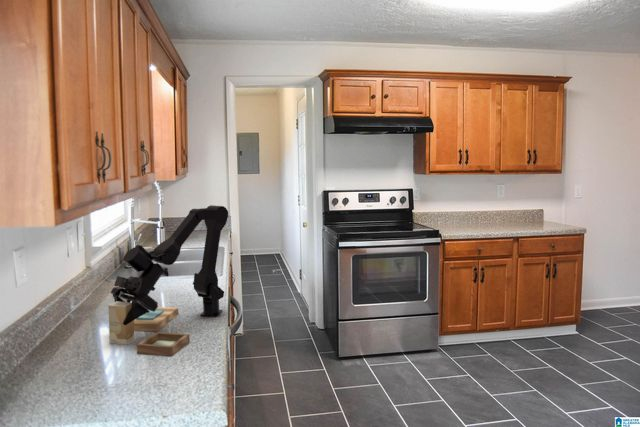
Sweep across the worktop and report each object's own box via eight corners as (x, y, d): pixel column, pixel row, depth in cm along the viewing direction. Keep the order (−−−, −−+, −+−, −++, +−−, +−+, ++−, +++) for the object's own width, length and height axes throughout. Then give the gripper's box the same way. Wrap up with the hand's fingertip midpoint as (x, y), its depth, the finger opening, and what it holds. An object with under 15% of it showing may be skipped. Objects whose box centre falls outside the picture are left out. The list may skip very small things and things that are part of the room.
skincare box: (109, 343, 157) (106, 304, 156) (118, 338, 161) (115, 300, 160) (127, 345, 156) (125, 306, 154) (136, 340, 160) (133, 301, 158)
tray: (157, 339, 160) (156, 332, 159) (189, 342, 157) (189, 334, 157) (137, 353, 149) (136, 344, 149) (171, 355, 146) (171, 347, 146)
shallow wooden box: (146, 313, 187) (146, 304, 186) (178, 314, 185) (178, 305, 185) (123, 330, 169) (122, 320, 169) (157, 331, 168) (157, 321, 167)
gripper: (114, 262, 165) (82, 303, 157) (147, 269, 153) (114, 314, 146) (137, 281, 172) (108, 321, 164) (170, 289, 160) (141, 333, 153)
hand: (117, 322), depth 157 cm, fingers closed on skincare box, 7 cm apart
